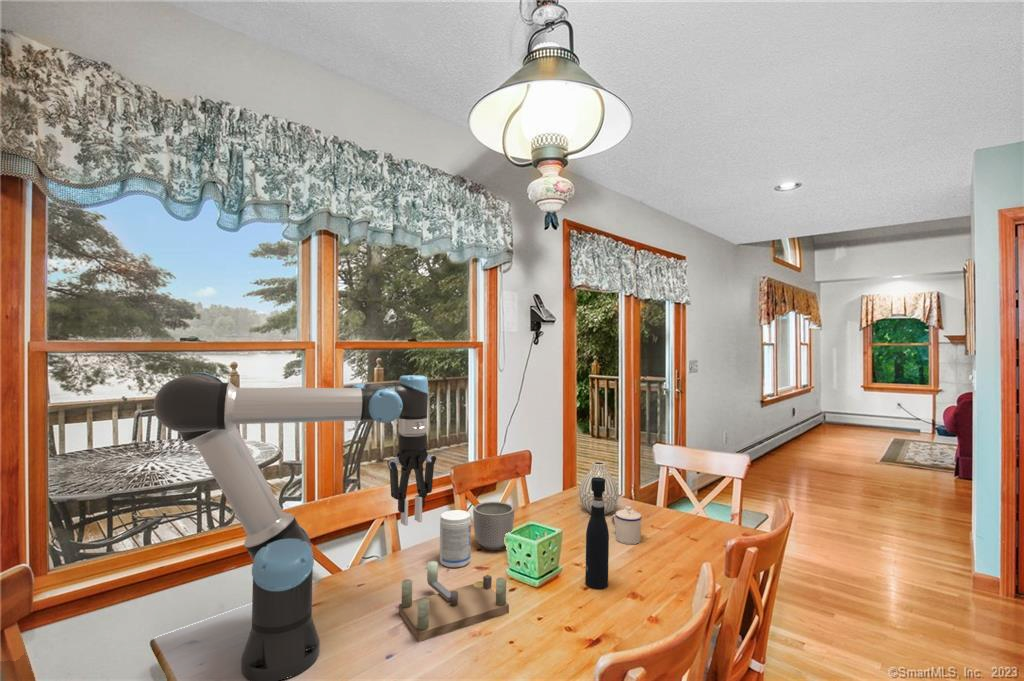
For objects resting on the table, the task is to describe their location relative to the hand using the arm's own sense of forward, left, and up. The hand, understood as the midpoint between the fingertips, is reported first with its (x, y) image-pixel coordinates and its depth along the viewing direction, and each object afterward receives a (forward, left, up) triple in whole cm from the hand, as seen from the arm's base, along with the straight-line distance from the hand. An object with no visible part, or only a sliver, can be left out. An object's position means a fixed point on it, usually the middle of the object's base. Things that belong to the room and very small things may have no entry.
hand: (411, 522), depth 129 cm
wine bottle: (+49, -18, -21) cm, 56 cm away
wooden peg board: (+8, -11, -21) cm, 25 cm away
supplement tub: (+20, +15, -21) cm, 32 cm away
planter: (+36, +19, -21) cm, 46 cm away
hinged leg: (+7, -4, -18) cm, 20 cm away
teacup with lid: (+80, +2, -21) cm, 83 cm away
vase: (+91, +28, -21) cm, 97 cm away
